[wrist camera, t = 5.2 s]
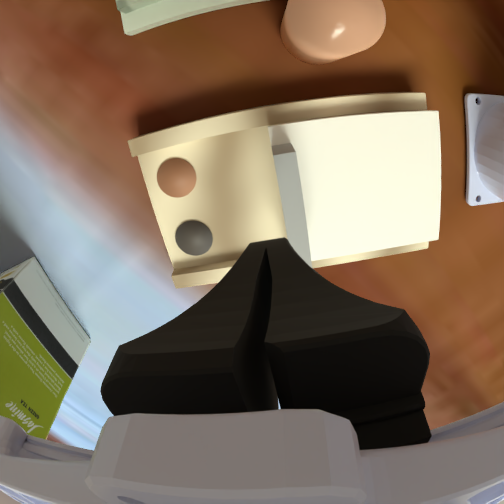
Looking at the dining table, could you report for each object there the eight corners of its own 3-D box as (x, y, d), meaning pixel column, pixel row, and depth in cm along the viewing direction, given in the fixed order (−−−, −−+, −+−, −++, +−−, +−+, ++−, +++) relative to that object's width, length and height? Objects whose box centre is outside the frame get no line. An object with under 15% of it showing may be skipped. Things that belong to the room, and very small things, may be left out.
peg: (341, 1, 14) (373, -31, 8) (354, 62, 15) (394, 52, 10) (273, 7, 14) (279, -28, 9) (287, 68, 16) (299, 57, 11)
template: (412, 91, 16) (425, 93, 14) (417, 236, 20) (428, 248, 19) (138, 135, 18) (127, 141, 16) (181, 274, 22) (176, 288, 21)
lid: (434, 110, 14) (462, 116, 12) (435, 236, 18) (456, 259, 15) (267, 126, 16) (268, 133, 13) (291, 260, 19) (295, 288, 17)
